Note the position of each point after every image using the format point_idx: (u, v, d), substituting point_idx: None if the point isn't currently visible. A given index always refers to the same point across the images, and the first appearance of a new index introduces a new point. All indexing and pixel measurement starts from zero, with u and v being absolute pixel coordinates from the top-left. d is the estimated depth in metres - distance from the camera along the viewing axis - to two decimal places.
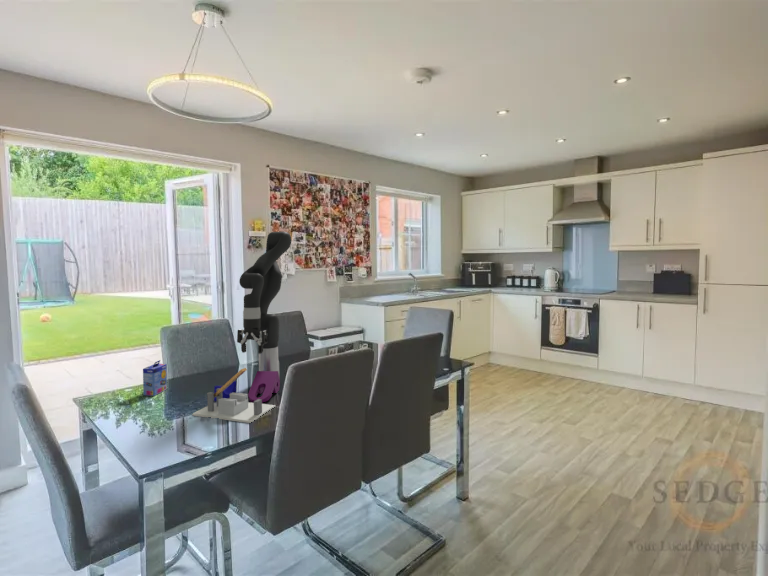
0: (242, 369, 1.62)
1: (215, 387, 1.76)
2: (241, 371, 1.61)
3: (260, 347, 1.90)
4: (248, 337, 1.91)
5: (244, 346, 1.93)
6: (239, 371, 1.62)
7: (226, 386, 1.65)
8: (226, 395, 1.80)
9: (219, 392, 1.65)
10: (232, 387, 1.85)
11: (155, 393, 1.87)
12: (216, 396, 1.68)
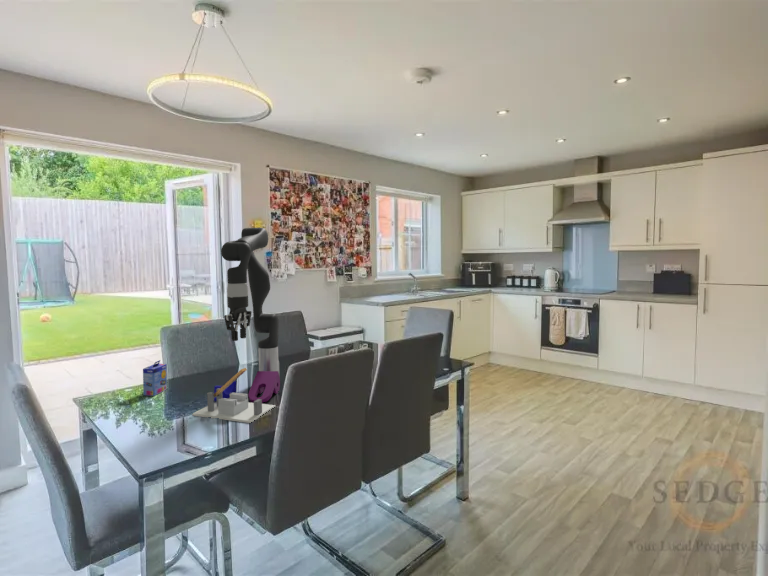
0: (242, 369, 1.62)
1: (215, 387, 1.76)
2: (241, 371, 1.61)
3: None
4: (240, 318, 1.61)
5: None
6: (239, 371, 1.62)
7: (226, 386, 1.65)
8: (226, 395, 1.80)
9: (219, 392, 1.65)
10: (232, 387, 1.85)
11: (155, 393, 1.87)
12: (216, 396, 1.68)
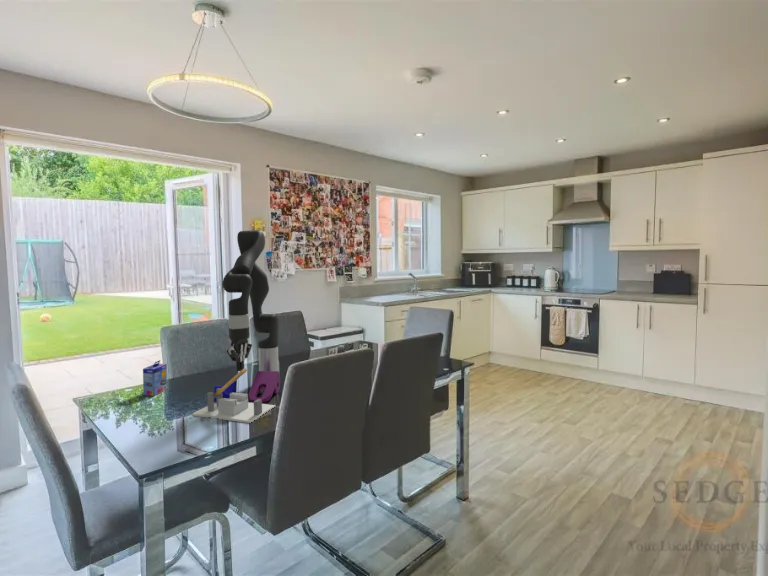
0: (242, 370, 1.62)
1: (215, 387, 1.76)
2: (241, 372, 1.61)
3: None
4: None
5: None
6: (239, 372, 1.62)
7: (226, 386, 1.65)
8: (226, 395, 1.80)
9: (219, 392, 1.65)
10: (232, 387, 1.85)
11: (155, 393, 1.87)
12: (216, 396, 1.68)
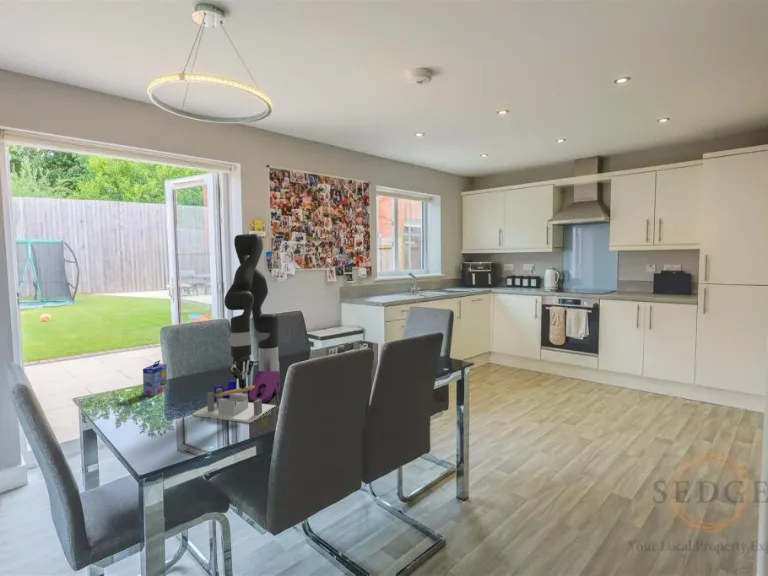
0: (251, 387, 1.62)
1: (215, 387, 1.76)
2: (249, 389, 1.61)
3: None
4: None
5: None
6: (247, 388, 1.61)
7: None
8: (226, 395, 1.80)
9: None
10: (232, 387, 1.85)
11: (155, 393, 1.87)
12: None
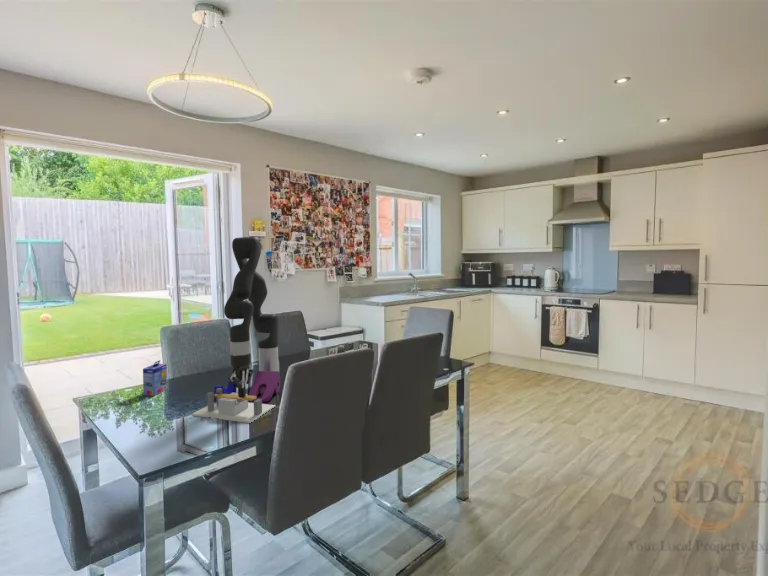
0: (253, 398, 1.62)
1: (215, 387, 1.76)
2: (251, 399, 1.61)
3: None
4: (243, 374, 1.62)
5: None
6: (249, 398, 1.61)
7: (230, 398, 1.65)
8: None
9: (220, 398, 1.65)
10: (232, 387, 1.85)
11: (155, 393, 1.87)
12: None
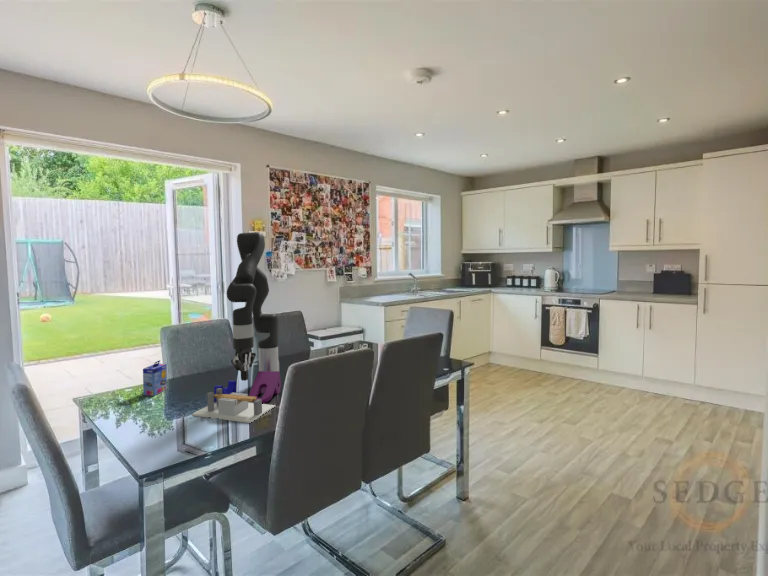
0: (253, 399, 1.62)
1: (215, 387, 1.76)
2: (251, 400, 1.61)
3: None
4: None
5: None
6: (249, 399, 1.61)
7: None
8: None
9: (220, 398, 1.65)
10: (232, 387, 1.85)
11: (155, 393, 1.87)
12: None
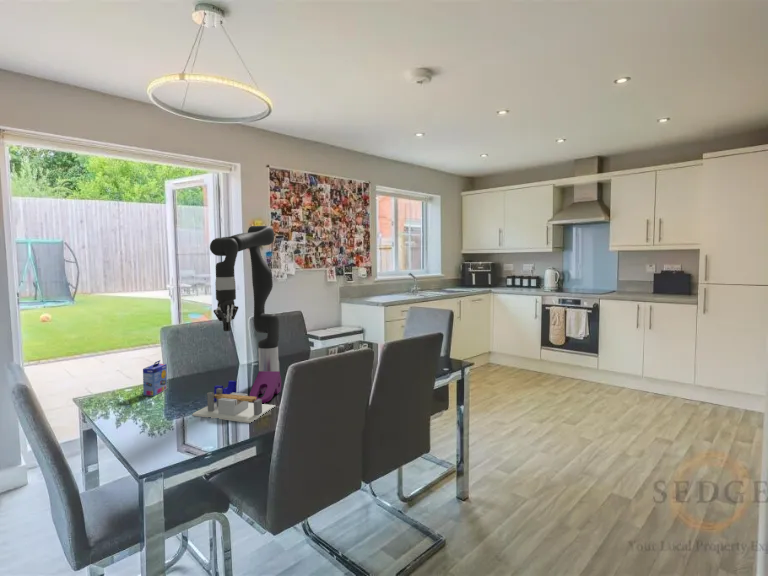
0: (253, 399, 1.62)
1: (215, 387, 1.76)
2: (251, 400, 1.61)
3: None
4: (228, 309, 1.70)
5: None
6: (249, 399, 1.61)
7: None
8: None
9: (220, 398, 1.65)
10: (232, 387, 1.85)
11: (155, 393, 1.87)
12: None
